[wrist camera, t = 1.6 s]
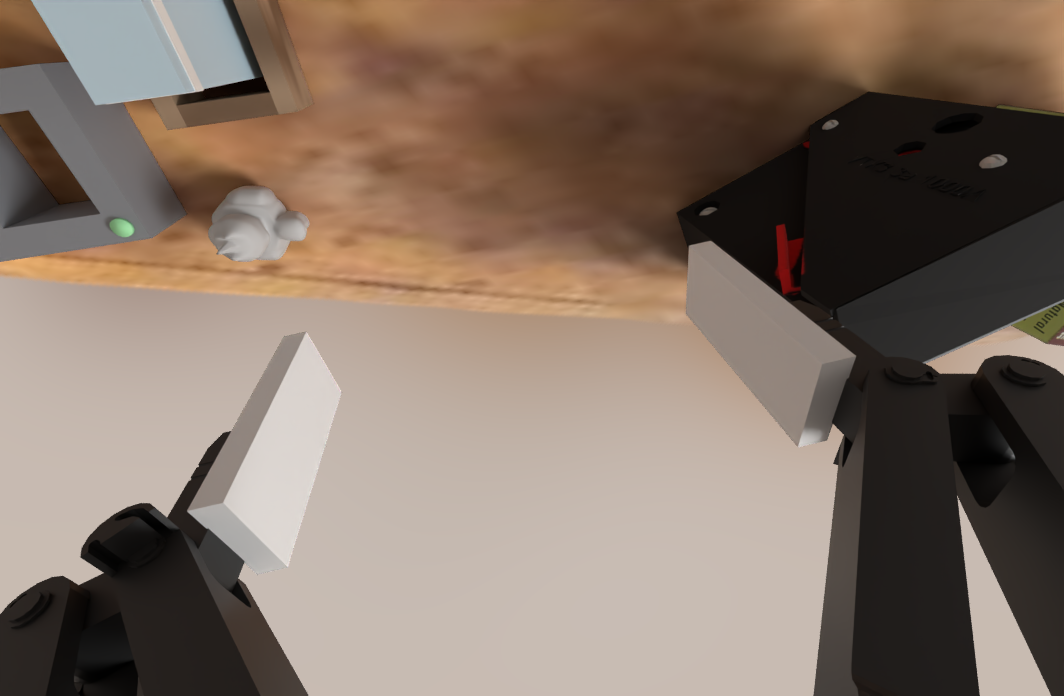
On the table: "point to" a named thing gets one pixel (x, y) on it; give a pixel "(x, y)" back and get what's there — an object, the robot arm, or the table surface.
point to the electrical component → (904, 221)
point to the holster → (276, 66)
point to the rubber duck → (255, 225)
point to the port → (77, 170)
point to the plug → (150, 46)
